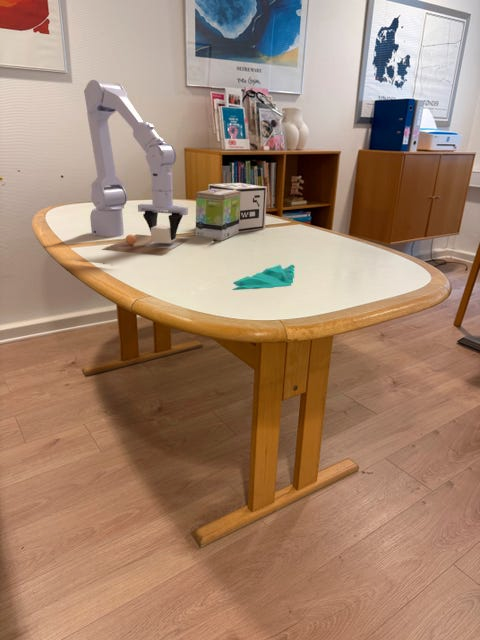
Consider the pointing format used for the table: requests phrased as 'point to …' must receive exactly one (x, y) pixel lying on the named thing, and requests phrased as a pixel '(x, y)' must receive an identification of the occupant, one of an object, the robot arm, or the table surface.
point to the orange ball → (130, 239)
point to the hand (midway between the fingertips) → (163, 238)
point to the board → (146, 246)
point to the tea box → (217, 213)
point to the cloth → (268, 278)
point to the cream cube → (161, 234)
